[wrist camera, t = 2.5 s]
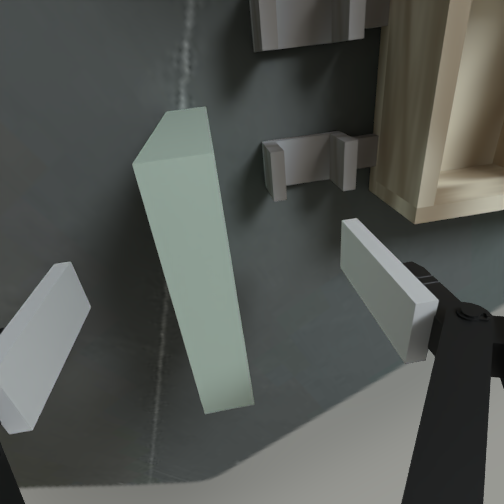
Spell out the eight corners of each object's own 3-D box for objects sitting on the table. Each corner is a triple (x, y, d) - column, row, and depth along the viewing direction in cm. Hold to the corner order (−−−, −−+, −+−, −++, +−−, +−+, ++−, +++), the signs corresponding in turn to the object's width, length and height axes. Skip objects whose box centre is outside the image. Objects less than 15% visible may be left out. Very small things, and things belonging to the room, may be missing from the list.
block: (194, 276, 26) (192, 416, 16) (156, 112, 20) (111, 167, 10) (232, 269, 26) (254, 404, 16) (205, 106, 20) (213, 152, 10)
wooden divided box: (267, 205, 24) (286, 245, 19) (244, -51, 17) (264, -102, 12) (569, 159, 25) (663, 183, 20) (665, -94, 18) (848, -155, 13)
